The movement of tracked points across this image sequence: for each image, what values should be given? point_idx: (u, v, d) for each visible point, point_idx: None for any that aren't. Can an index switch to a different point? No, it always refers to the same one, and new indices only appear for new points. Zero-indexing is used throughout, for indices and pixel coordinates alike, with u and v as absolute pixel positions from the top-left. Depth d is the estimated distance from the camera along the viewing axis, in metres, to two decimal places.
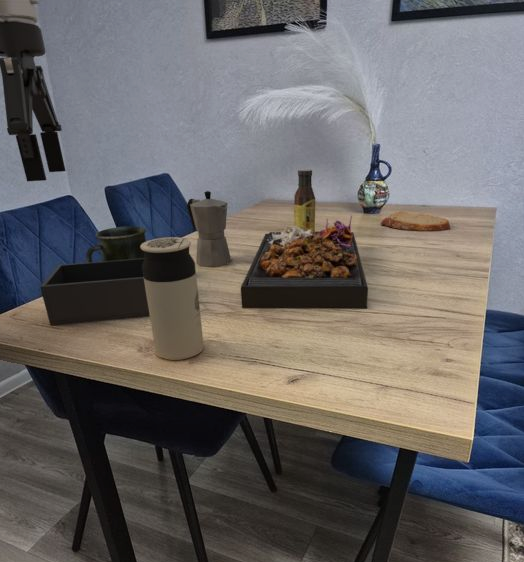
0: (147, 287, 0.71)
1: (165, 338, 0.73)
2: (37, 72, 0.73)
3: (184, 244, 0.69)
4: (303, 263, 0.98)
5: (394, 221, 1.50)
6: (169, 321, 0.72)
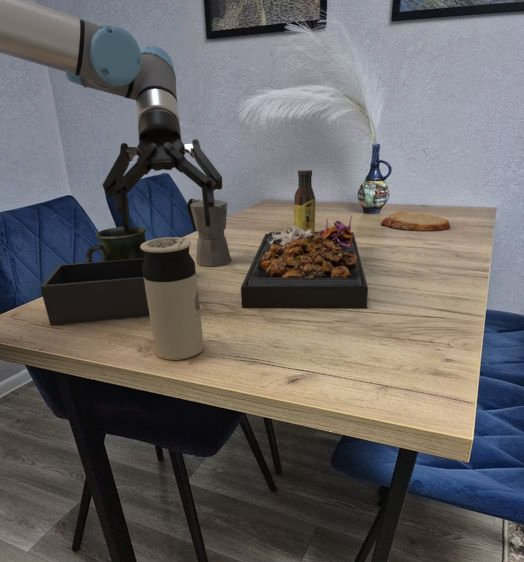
0: (147, 287, 0.71)
1: (165, 338, 0.73)
2: None
3: (184, 244, 0.69)
4: (303, 263, 0.98)
5: (394, 221, 1.50)
6: (169, 321, 0.72)
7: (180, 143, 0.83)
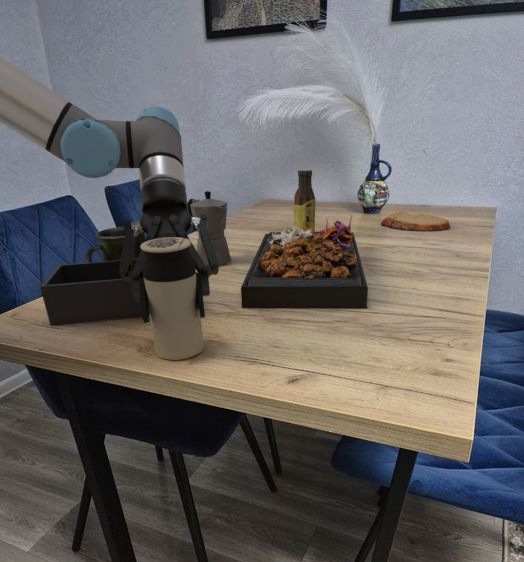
0: (147, 287, 0.71)
1: (165, 338, 0.73)
2: None
3: (184, 244, 0.69)
4: (303, 263, 0.98)
5: (394, 221, 1.50)
6: (169, 321, 0.72)
7: (187, 214, 0.77)
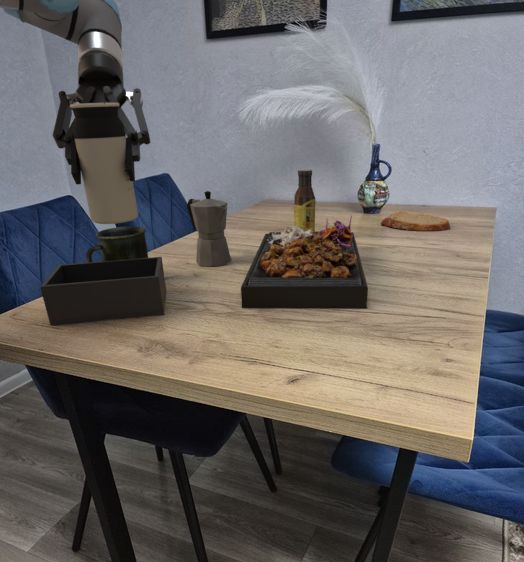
0: (77, 147, 0.75)
1: (96, 199, 0.77)
2: None
3: None
4: (303, 263, 0.98)
5: (394, 221, 1.50)
6: (99, 180, 0.75)
7: (121, 88, 0.81)
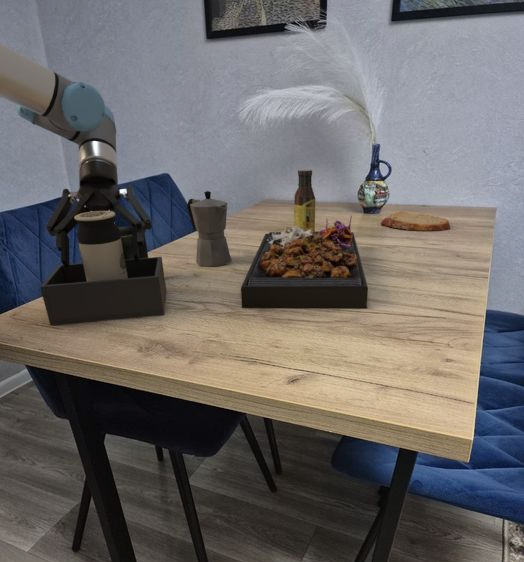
0: (80, 249, 0.90)
1: None
2: None
3: (108, 215, 0.88)
4: (303, 263, 0.98)
5: (394, 221, 1.50)
6: (99, 276, 0.91)
7: (115, 188, 0.96)
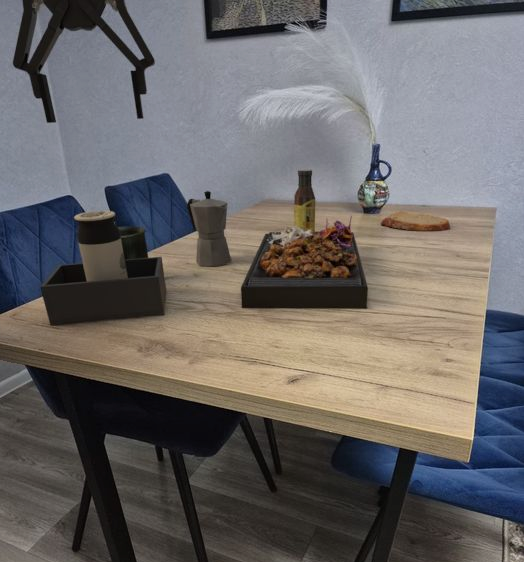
0: (80, 249, 0.90)
1: None
2: None
3: (108, 215, 0.88)
4: (303, 263, 0.98)
5: (394, 221, 1.50)
6: (99, 276, 0.91)
7: None
